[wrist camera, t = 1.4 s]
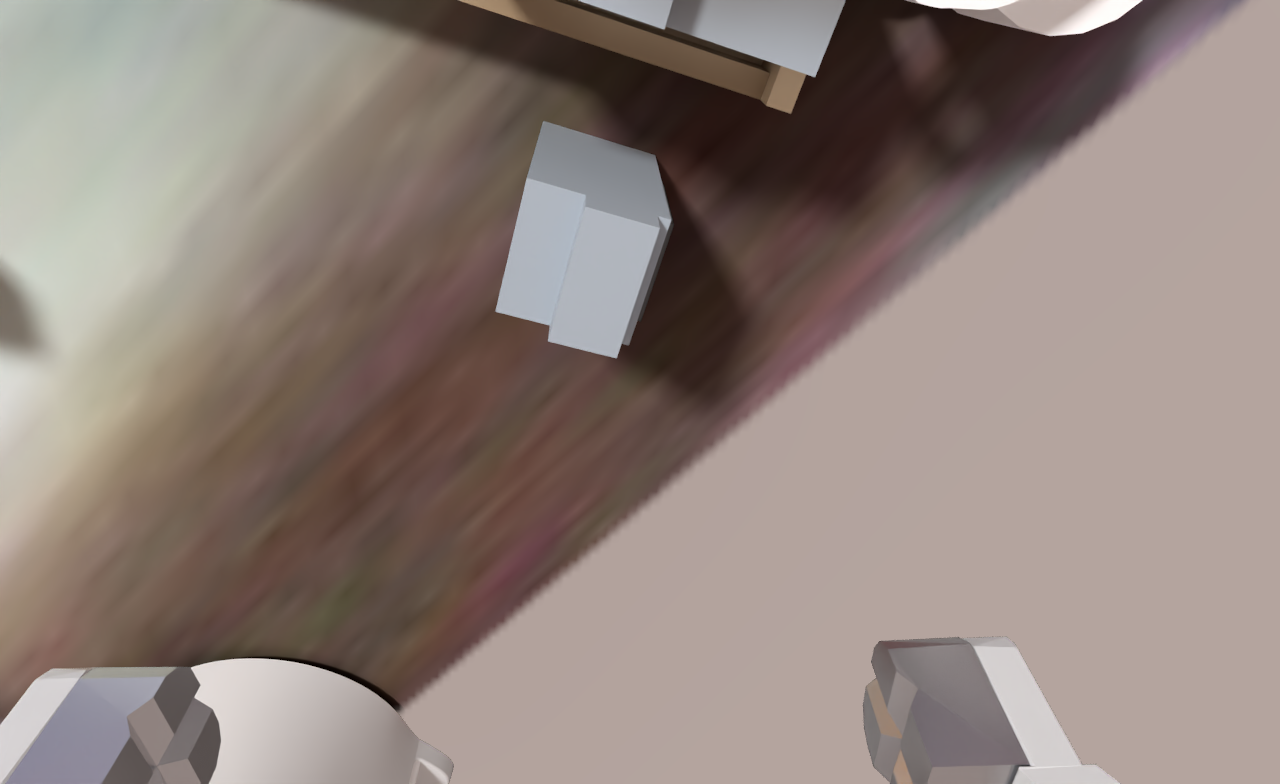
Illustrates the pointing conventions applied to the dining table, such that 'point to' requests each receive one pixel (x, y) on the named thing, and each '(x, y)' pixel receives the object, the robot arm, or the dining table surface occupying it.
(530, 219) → the stepped grey block
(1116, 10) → the car outline toy
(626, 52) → the wooden rectangular frame
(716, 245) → the dining table surface
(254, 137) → the dining table surface
